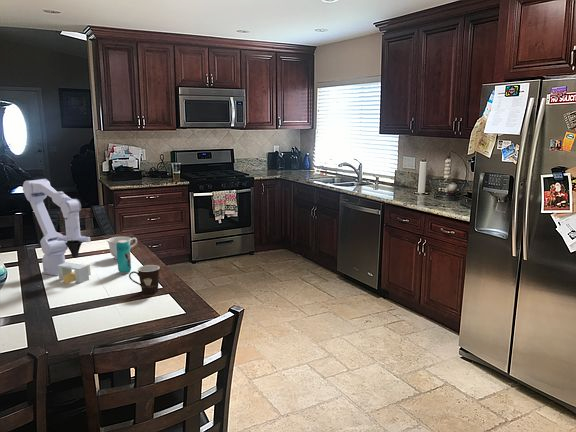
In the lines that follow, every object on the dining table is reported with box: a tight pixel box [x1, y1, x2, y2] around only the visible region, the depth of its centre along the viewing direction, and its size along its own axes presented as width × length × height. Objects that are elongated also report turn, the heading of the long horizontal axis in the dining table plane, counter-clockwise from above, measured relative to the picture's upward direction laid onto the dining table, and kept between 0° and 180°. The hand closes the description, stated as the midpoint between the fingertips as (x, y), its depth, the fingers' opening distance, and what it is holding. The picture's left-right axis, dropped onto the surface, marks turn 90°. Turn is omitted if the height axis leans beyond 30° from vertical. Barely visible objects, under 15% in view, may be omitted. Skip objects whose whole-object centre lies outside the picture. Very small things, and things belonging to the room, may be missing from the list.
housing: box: [58, 261, 90, 284], centre depth 208 cm, size 12×5×6 cm, turn 67°
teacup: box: [106, 235, 138, 261], centre depth 240 cm, size 12×15×10 cm
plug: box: [62, 262, 92, 284], centre depth 210 cm, size 4×12×5 cm, turn 159°
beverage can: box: [116, 240, 132, 275], centre depth 217 cm, size 6×6×15 cm
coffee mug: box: [128, 264, 160, 295], centre depth 195 cm, size 12×9×10 cm
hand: (75, 256), depth 208 cm, fingers closed
